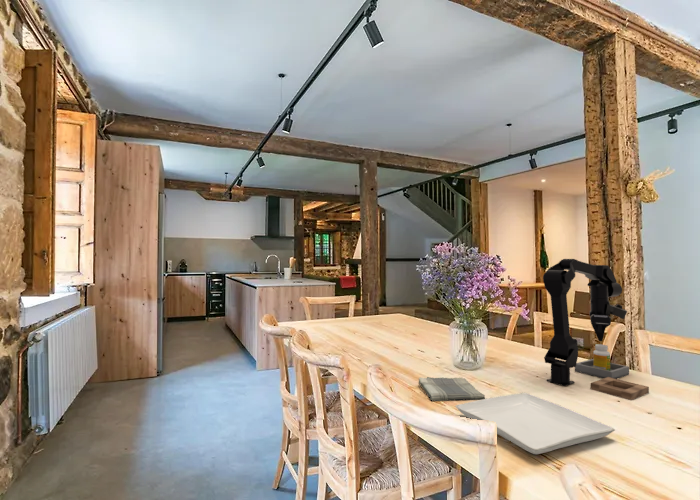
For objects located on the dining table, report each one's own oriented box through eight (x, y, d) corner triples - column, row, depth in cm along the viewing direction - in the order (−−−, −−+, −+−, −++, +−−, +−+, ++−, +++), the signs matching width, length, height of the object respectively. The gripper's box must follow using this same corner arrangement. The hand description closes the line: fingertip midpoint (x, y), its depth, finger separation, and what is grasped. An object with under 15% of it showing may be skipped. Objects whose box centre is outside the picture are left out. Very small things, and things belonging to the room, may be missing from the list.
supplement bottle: (610, 374, 142) (609, 347, 143) (592, 371, 146) (592, 345, 146) (610, 370, 147) (610, 345, 147) (594, 368, 150) (593, 343, 150)
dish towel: (487, 401, 119) (487, 391, 119) (430, 403, 118) (430, 392, 118) (465, 382, 138) (465, 373, 138) (416, 383, 137) (416, 374, 137)
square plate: (535, 466, 82) (535, 448, 82) (453, 417, 107) (453, 403, 107) (617, 442, 93) (616, 425, 93) (524, 402, 118) (524, 390, 118)
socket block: (631, 400, 119) (631, 393, 119) (590, 388, 129) (590, 382, 129) (648, 392, 125) (648, 386, 125) (608, 382, 135) (608, 377, 135)
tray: (611, 380, 137) (611, 372, 137) (574, 371, 148) (574, 363, 149) (629, 374, 144) (629, 366, 144) (592, 366, 155) (592, 358, 155)
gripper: (627, 301, 135) (628, 346, 135) (622, 296, 151) (623, 336, 151) (590, 299, 141) (591, 342, 140) (589, 295, 157) (589, 333, 156)
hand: (599, 338), depth 147 cm, fingers open, 9 cm apart
